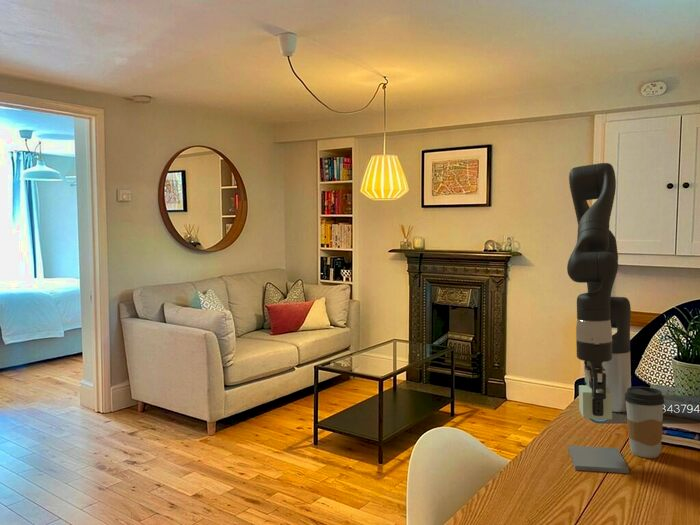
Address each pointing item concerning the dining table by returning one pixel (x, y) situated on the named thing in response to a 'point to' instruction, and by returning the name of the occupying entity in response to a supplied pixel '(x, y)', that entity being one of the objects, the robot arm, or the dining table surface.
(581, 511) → the dining table surface
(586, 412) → the sage block
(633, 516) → the dining table surface
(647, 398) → the coffee cup
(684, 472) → the dining table surface
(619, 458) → the slate board
